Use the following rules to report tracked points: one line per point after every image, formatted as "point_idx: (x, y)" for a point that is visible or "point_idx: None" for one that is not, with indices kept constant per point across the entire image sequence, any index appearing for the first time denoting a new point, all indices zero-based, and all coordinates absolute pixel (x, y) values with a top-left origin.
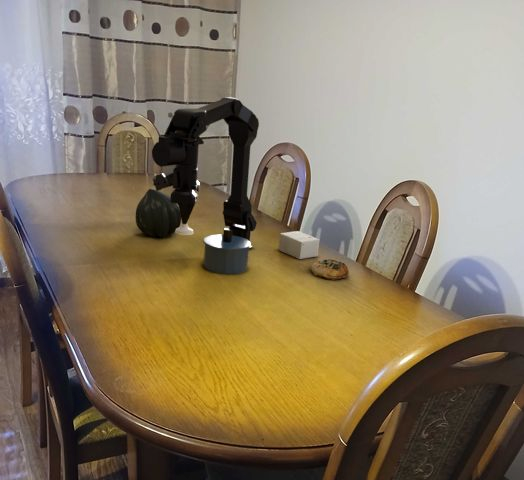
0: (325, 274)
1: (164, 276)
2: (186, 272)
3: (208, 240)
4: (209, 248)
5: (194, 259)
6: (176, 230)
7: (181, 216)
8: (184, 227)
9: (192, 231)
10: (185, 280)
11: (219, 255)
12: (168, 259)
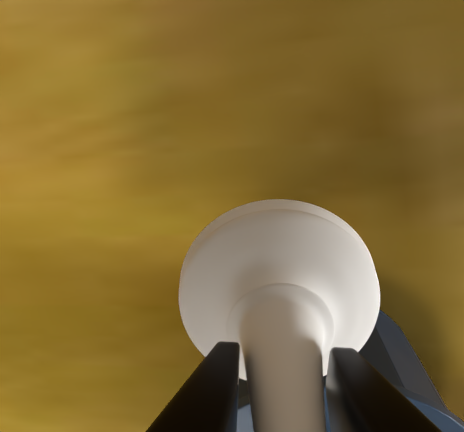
0: None
1: (88, 92)
2: (185, 206)
3: (327, 416)
4: (239, 395)
5: (411, 240)
6: (230, 224)
7: (156, 423)
8: (230, 332)
9: (243, 379)
10: (67, 206)
11: None
12: (397, 87)
